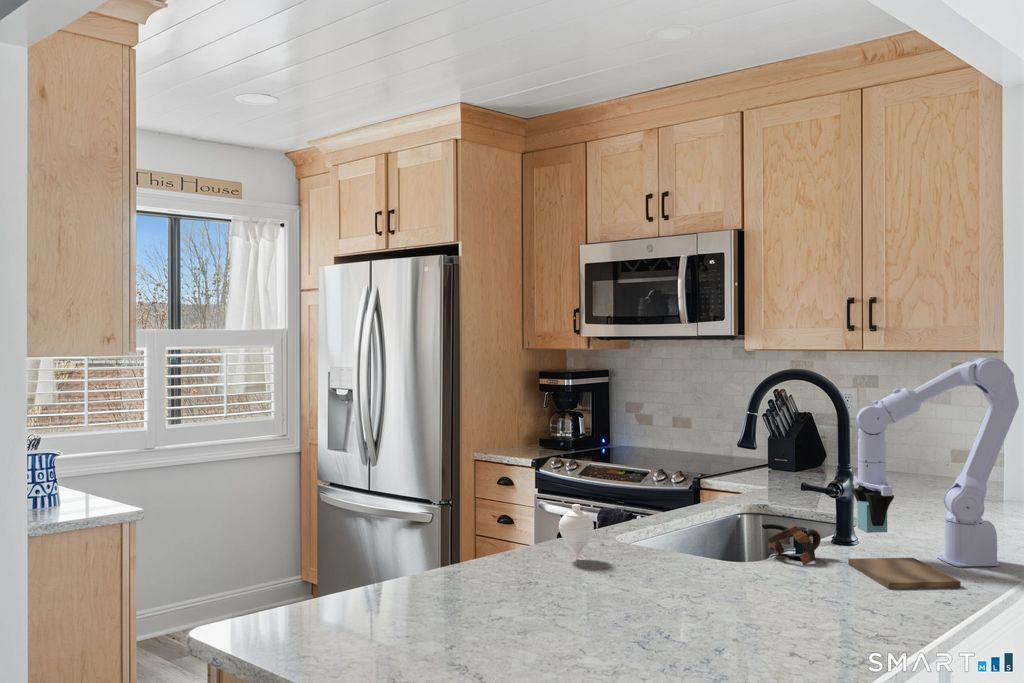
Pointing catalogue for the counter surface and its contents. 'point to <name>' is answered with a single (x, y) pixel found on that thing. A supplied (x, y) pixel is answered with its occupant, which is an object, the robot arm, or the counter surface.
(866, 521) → the teal block
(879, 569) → the walnut board
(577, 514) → the spinning top
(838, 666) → the counter surface
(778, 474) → the counter surface
